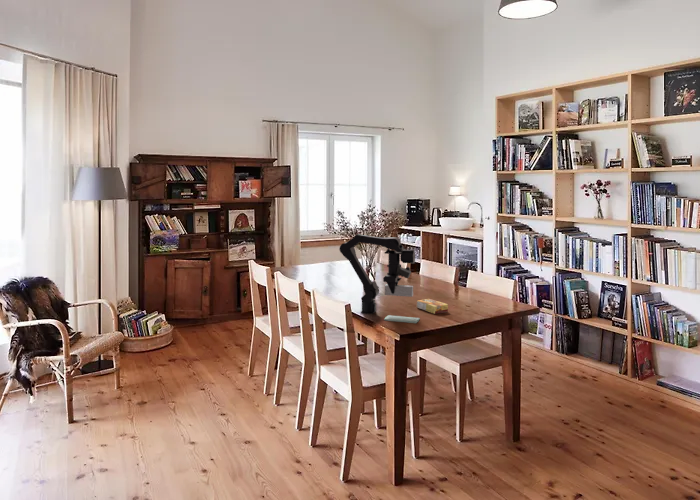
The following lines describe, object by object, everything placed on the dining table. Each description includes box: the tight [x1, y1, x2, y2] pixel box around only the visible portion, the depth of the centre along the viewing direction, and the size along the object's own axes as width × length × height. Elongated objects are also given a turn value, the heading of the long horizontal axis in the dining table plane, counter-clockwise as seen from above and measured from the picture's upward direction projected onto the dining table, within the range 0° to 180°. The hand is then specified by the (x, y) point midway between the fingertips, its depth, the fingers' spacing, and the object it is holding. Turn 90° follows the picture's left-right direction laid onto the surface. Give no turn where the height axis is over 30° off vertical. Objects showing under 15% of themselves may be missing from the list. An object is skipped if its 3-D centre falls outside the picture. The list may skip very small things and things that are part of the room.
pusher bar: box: [384, 283, 414, 298], centre depth 273 cm, size 14×3×5 cm, turn 73°
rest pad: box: [383, 314, 421, 324], centre depth 264 cm, size 16×7×1 cm, turn 71°
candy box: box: [416, 298, 449, 315], centre depth 283 cm, size 9×4×15 cm
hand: (393, 292), depth 274 cm, fingers closed on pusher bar, 3 cm apart
